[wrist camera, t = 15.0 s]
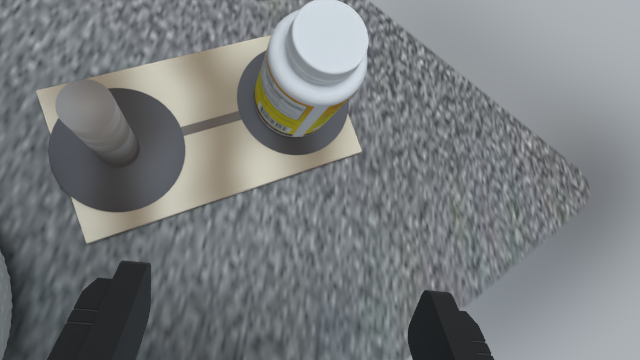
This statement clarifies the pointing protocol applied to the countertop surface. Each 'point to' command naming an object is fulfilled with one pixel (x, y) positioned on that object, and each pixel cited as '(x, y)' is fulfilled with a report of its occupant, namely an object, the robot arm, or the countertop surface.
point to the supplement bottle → (311, 67)
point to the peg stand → (174, 138)
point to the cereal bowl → (4, 305)
